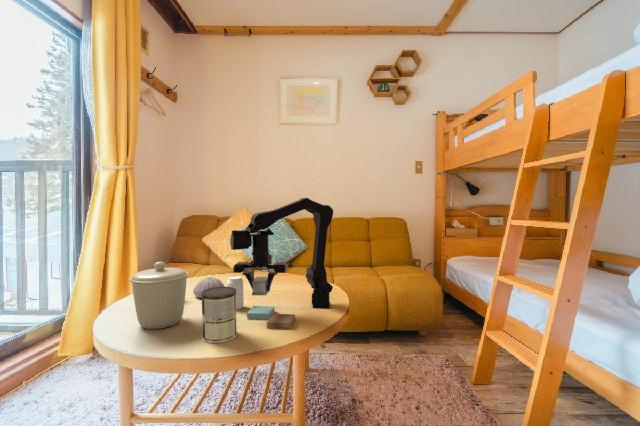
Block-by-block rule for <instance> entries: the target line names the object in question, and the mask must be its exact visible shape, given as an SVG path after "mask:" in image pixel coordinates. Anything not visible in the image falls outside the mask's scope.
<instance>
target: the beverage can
mask: <svg viewBox="0 0 640 426" xmlns="http://www.w3.org/2000/svg"><path fill="white" fill-rule="evenodd" d="M226 287H233V288H235V289H236V311H238V310H241V309H242V308H243V307H244V306H245V305H244V304H245V303H244V301H245V300H244V280H243V279H242V276H239V275H231V276H229V277H228V279H227V281H226Z"/></svg>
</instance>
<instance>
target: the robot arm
mask: <svg viewBox="0 0 640 426" xmlns="http://www.w3.org/2000/svg"><path fill="white" fill-rule="evenodd" d="M303 210H305V211H306V212H308V213H310V214H312V215H313V217H312V219H313V223H314V226H315V232H314V242H313V252H312V260H311V261H312V263H311V265H310V267H309V266H307V267H306V275H305V279H306V282H307V283H308V284H309V285H310V287H311V289H313V290H312V291H313V292H312V293H311V305H312V308H314V309H317V308H318V309H330V307H331V302H330V294H331V293H332V291H333V288H334V287H333V285H332V284H331V283H330V282H329V281H328V277H327V276H328V275H327V270H326V266H325V260H326V251H327V250H326V248H327V238H328V237H327V236H328V229H329V227H330V224H331V222H332V220H333V216H334V209H333V208H332V207H331V206H330V205H328V204H321V203H319V202H316V201H314V200H311V199H310V198H308V197H302V198H300V199H298V200H295V201H292V202H291V203H288V204H285V205H283V206H280V207H278V208H275V209H273V210H265V211H261V212H255V213H254V214H253V215H251V218H250V223H249V224H248V225H247V226H246V228H245V229H243V230H236V229H235V230H234V229H233V230H231V234H230V240H229V245H230V249H231V251H237V250H239V251H240V250H248V249H249V247H251V246H252V251H251V255H252V263H251V264H249V262H248V261H239V262H237V263H236V262H235V264H234V265H233V267H232V270H233V272H232V273H239V274H240V273H241V274H242V276H245V278H246V280H247V281H248V283H249V285H250V287H251V289H252V291H253V283H252V280H254V279H255V271H269V272H268V273H267V277H268V284H267V289H268V291H269V290H270V291H271V287H272V284H273V280H274V278H275V276H276V275H278V274H285V273H286V272H287V271H288V270H289V265H288V263H287V262H286V261H285V262H284V261H282V262H281V261H279V262H278V261H277V262H275V263H274V264H273V263H272V262H273V255H272V254H271V253H270V249H269V248H270V247H269V236H274V235H275V232H273V231H272V230H271V228H269V227H271V226H273V225H274V224H275V223H277V222H278V221H279V220H281V219H284V218H286V217H289V216H291V215H294V214H296V213H298V212H301V211H303ZM270 291H269V292H270Z"/></svg>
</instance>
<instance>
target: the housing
mask: <svg viewBox="0 0 640 426" xmlns="http://www.w3.org/2000/svg"><path fill="white" fill-rule="evenodd" d="M252 283H253V290H252V292H251V296H267V295H268V293H269V292H270V291H271V289H270V290H269V291H268V289H267V284H268V276H255V277H254V280H252Z"/></svg>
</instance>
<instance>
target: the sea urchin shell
mask: <svg viewBox="0 0 640 426" xmlns="http://www.w3.org/2000/svg"><path fill="white" fill-rule="evenodd" d="M213 287H226V285H224V283H223V282H222V280H220V279H219V278H217V277H213V276H212V277H211V276H210V277H205V278H203V279H201V280H200V281H199V282H197V284H196V285H195V286H194V288H193V290H192V291H193V295H194V296H195V297H197V298H199V299H202V296H201V292H202V291H204V290H206V289H209V288H213Z"/></svg>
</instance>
